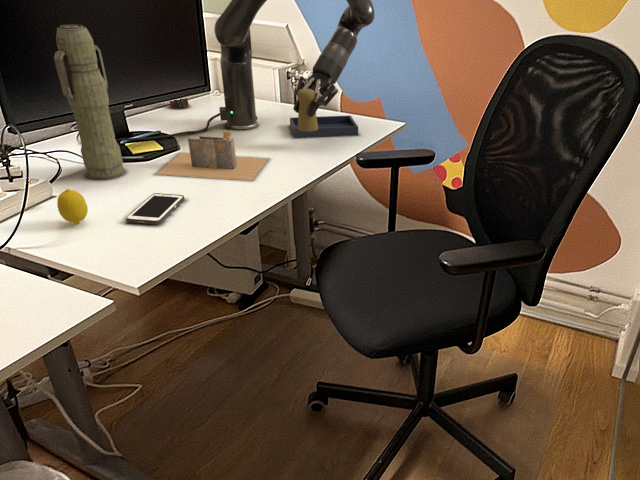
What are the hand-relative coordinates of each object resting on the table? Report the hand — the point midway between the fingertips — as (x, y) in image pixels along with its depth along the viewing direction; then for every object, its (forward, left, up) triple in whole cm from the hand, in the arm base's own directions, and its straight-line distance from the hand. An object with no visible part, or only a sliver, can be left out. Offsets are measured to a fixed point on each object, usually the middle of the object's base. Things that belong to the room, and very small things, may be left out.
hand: (302, 113), depth 170 cm
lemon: (-54, -41, -11) cm, 69 cm away
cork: (+2, +1, -5) cm, 5 cm away
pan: (+9, +17, -11) cm, 22 cm away
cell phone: (-38, -37, -11) cm, 54 cm away
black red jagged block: (-36, +51, -11) cm, 64 cm away
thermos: (-52, -11, -11) cm, 55 cm away
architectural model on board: (-25, -10, -11) cm, 29 cm away
